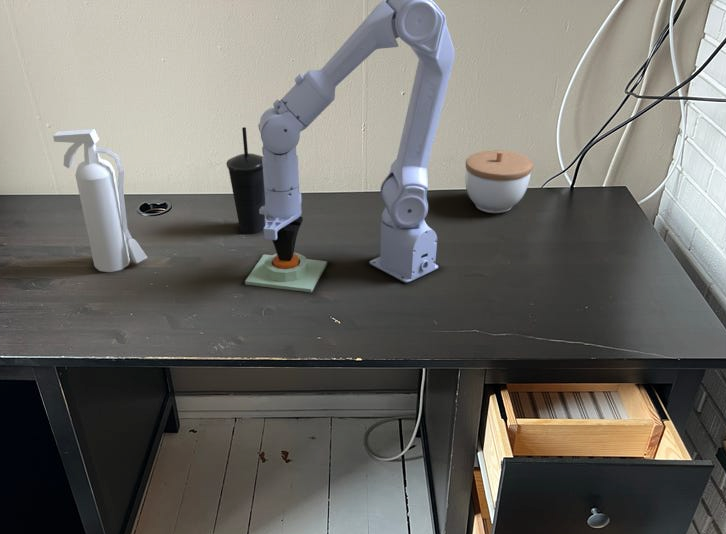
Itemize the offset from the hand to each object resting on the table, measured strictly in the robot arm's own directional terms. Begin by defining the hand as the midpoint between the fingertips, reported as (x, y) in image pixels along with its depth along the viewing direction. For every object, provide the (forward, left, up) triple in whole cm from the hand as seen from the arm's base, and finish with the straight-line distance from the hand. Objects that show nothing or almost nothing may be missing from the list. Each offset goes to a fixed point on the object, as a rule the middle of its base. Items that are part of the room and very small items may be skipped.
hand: (285, 258), depth 128 cm
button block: (0, 0, -3) cm, 3 cm away
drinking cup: (+19, -6, -3) cm, 20 cm away
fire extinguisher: (+24, +21, -3) cm, 32 cm away
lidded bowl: (-6, -48, -3) cm, 48 cm away
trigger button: (0, 0, -2) cm, 2 cm away
